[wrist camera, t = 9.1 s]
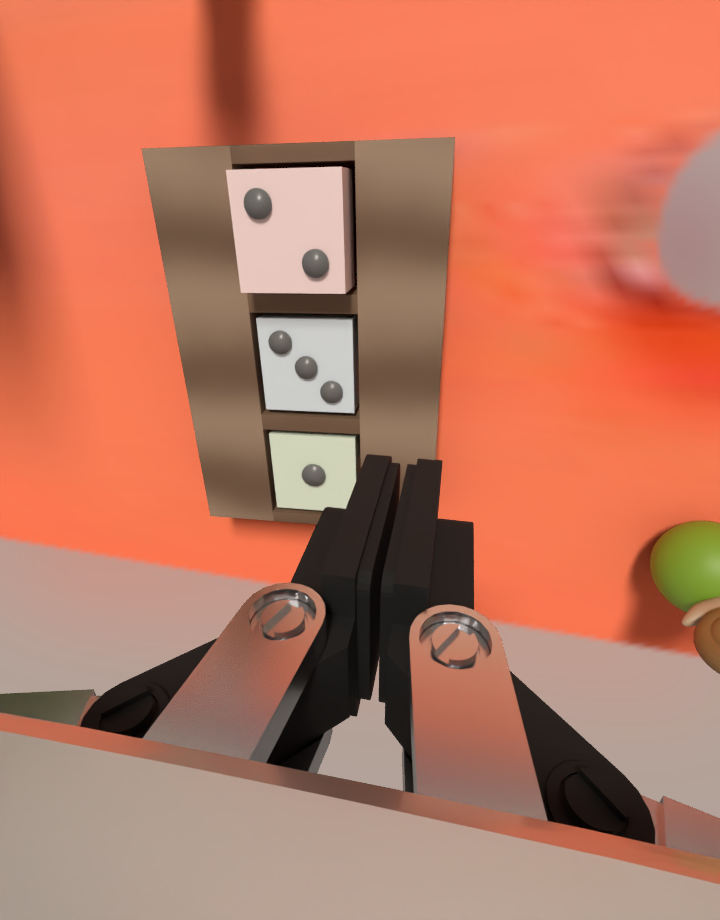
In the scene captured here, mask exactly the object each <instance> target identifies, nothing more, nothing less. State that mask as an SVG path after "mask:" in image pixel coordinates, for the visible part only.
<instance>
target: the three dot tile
mask: <svg viewBox="0 0 720 920" xmlns="http://www.w3.org/2000/svg"><path fill="white" fill-rule="evenodd" d="M256 323H257V331H258V340H259V349H260V358H261V367H262V376H263V385H264V394H265V403H266V409H271V410H294V411H316V412H338V413H355V411H356V409H357V406H358V404H359V351H358V314H319V313H263V314H262V315H260V316H259V317H257V318H256Z"/></svg>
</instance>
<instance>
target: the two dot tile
mask: <svg viewBox="0 0 720 920" xmlns="http://www.w3.org/2000/svg"><path fill="white" fill-rule="evenodd" d="M226 176H227V184H228V192H229V200H230V208H231V216H232V224H233V233H234V241H235V249H236V257H237V265H238V273H239V281H240V289H241V293H307V294H346V293H347V292H348V291H349V290H350V289H351V288H352V287H353V286H354V285H355V279H354V231H353V183H352V169H349V168H345V167H309V168H274V169H239V170H226Z"/></svg>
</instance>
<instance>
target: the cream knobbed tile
mask: <svg viewBox="0 0 720 920" xmlns="http://www.w3.org/2000/svg"><path fill="white" fill-rule="evenodd" d="M269 439H270V448H271V457H272V466H273V475H274V483H275V492H276V501H277V507H281V508H295V509H308V510H321V511H323V510H324V508H326V507H334V508H344V509H346V507H347V504H348V501H349V499H350V496H351V494H352V491H353V488H354V486H355V483H356V481H357V478H358V475H359V473H360V470H361V459H360V434H346V433H326V432H307V431H287V430H271V432H270V433H269Z"/></svg>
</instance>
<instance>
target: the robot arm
mask: <svg viewBox="0 0 720 920" xmlns="http://www.w3.org/2000/svg"><path fill="white" fill-rule="evenodd" d="M441 472H442V460H430V459H419V458H418V460H417V465H414V464H407V468H406V473H405V477H404V482H403V486H402V490H401V495H400V463H392V457H391V456H384V455H373V454H367V455H366V457H365V460H364V462H363V465H362V467H361V470H360V473H359V475H358V478H357V481H356V483H355V486H354V488H353V491H352V494H351V496H350V499H349V501H348V504H347V507H346V509H344V508H334V507H326V508H324V510H323V512H322V514H321V516H320V518H319V521H318V523H317V525H316V527H315V530H314V532H313V534H312V536H311V538H310V541H309V543H308V545H307V547H306V550H305V552H304V554H303V556H302V558H301V561H300V563H299V565H298V567H297V570H296V572H295V574H294V576H293V578H292V581H291V583H280V584H274V585H271V586H268V587H265V588H263V589H261V590H259V591H258V592H256V593H254V594H253V595H252V596H251V597H250V598H249V599H248V600H247V601H246V602H245V603H244V604H243V606H242V607H241V608H240V610H239V611H238V613H236V615H235V616H234V617H233V619H232V621H230V623H229V624H228V626H227V627H226V628H225V629H224V631H223V632H222V634H221V635H220V636H219V637H218V638H217V639H214V640H212V641H211V642H208V643H206V644H204V645H202V646H200V647H197V648H195V649H193V650H191V651H189V652H187V653H184V654H182V655H180V656H178V657H176V658H174V659H172V660H169V661H167V662H165V663H163V664H161V665H159V666H157V667H154V668H152V669H150V670H148V671H146V672H144V673H142V674H140V675H137V676H135V677H133V678H131V679H129V680H127V681H124V682H122V683H120V684H119V685H117V686H115V687H114V688H112V689H110V690H108V691H107V692H105V693H104V694H103V695H102V696H96V694H95V692H94V689H93V690H72V691H52V692H32V693H10V694H0V920H720V818H717V817H715V816H712V815H710V814H708V813H705V812H703V811H700V810H697V809H695V808H693V807H690V806H687V805H685V804H682V803H680V802H677V801H675V800H672V799H670V798H667V797H665V796H663V797H662V799H661V801H660V803H659V802H657V801H654V800H652V799H649V798H647V797H645V796H642V795H640V793H639V791H638V790H637V789H636V788H635V787H634V786H633V784H632V783H631V782H630V781H629V780H628V779H627V778H626V777H625V776H624V775H623V774H622V773H621V772H620V771H619V770H618V769H617V768H616V767H615V766H613V765H612V764H611V763H610V762H609V761H608V760H607V759H606V758H605V757H604V756H603V755H602V754H600V753H599V752H598V751H597V750H596V749H595V748H594V747H593V746H592V745H591V744H589V743H588V742H587V741H586V740H585V739H584V738H583V737H582V736H581V735H580V734H579V733H577V732H576V731H575V730H574V729H573V728H572V727H571V726H570V725H569V724H568V723H566V722H565V721H564V720H563V719H562V718H561V717H560V716H559V715H558V714H557V713H556V712H554V711H553V710H552V709H551V708H550V707H549V706H548V705H547V704H546V703H545V702H543V701H542V700H541V699H540V698H539V697H538V696H537V695H536V694H535V693H534V692H533V691H531V690H530V689H529V688H528V687H527V686H526V685H525V684H524V683H522V681H520V680H519V679H518V678H517V677H516V676H515V675H514V674H513V673H512V672H511V671H510V670H509V667H508V663H507V659H506V655H505V651H504V647H503V643H502V639H501V637H500V635H499V633H498V631H497V629H496V627H495V626H494V625H493V624H492V623H491V622H490V621H489V619H487V618H486V617H484V616H483V615H481V614H480V613H478V612H477V611H475V610H474V528H473V522H466V521H456V520H447V519H438V507H439V496H440V484H441ZM399 495H400V499H399ZM379 655H380V657H379ZM379 658H380V660H379ZM378 660H379V702H384V703H385V724H386V726H387V727H388V728H389V730H390V731H391V732H392V734H393V735H394V736H395V738H396V739H397V740H398V741H399V743H400V744H401V745H402V747H403V752H402V767H403V791H400V790H396V789H391V788H386V787H381V786H376V785H371V784H366V783H361V782H356V781H351V780H346V779H341V778H336V777H331V776H326V775H322V774H317V772H318V770H319V767H320V765H321V763H322V760H323V758H324V755H325V753H326V750H327V748H328V746H329V743H330V739H331V735H332V728H333V727H334V726H336V725H338V724H339V723H341V722H342V721H344V720H345V719H347V718H349V717H350V715H351V716H357V713H358V709H359V704H360V699H367V700H370V699H371V696H372V691H373V686H374V681H375V676H376V671H377V666H378Z"/></svg>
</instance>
